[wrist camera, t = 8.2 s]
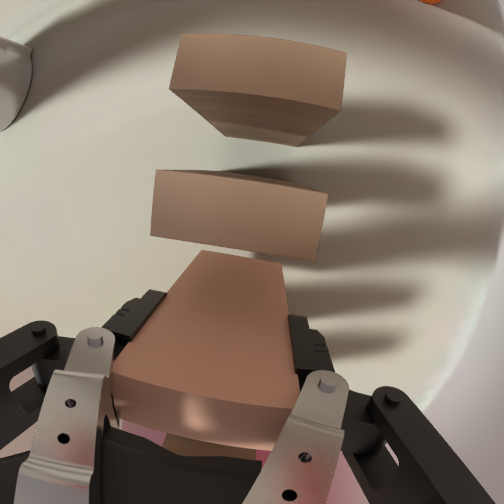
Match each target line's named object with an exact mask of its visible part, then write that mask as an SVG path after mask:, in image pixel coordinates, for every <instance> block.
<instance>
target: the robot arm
mask: <svg viewBox="0 0 504 504" xmlns="http://www.w3.org/2000/svg"><path fill="white" fill-rule="evenodd" d="M31 52H32V48H30V47H28V46H25V45H22V44H19V43H17V42H14V41H11V40H8V39H5V38H2V37H0V131H2V130H4V129H5V128H7V127H8V126H9V125H10V124H11V122H12V121H13V120H14V118H15V117H16V116H17V114H18V112H19V110H20V109H21V107H22V105H23V102H24V100H25V98H26V95H27V92H28V89H29V85H30V81H31V75H32V63H31V59H30V56H31ZM166 296H167V293H165V292H160V291H155V290H151V289H150V290H148V291H147V292H146V293H145V295H144V296H143V297H142V298H141V299H139V298H135V299H132V300H130V301H128V302H126V303H125V304H124V305H123V306H122V307H121V309H119V310H118V311H117V312H116V314H114V315H113V316H112V317H111V318H110V319H109V320H108V321H107V322H106V323H105V324H104V325H103V326H102V327H101V328H99V327H92V328H87V329H84V330H82V331H80V332H79V333H78V334H77V336H76V338H67V337H60V336H58V335H57V330H56V327H55V325H54V324H52V323H50V322H47V321H34V322H31V323H29V324H27V325H25V326H23V327H21V328H19V329H17V330H15V331H13V332H11V333H9V334H7V335H6V336H4V337H2V338H0V450H1V449H2V448H3V447H5V446H6V445H7V444H9V443H10V442H11V441H12V440H14V439H15V438H16V437H17V436H19V435H20V434H21V433H23V432H24V431H25V430H26V429H28V428H29V427H30V426H32V425H33V424H34V423H35V422H37V421H38V422H37V425H36V429H35V433H34V437H33V441H32V446H31V450H30V451H26V452H23V453H19V454H15V455H12V456H8V457H4V458H0V504H325V503H326V500H327V497H328V494H329V490H330V487H331V484H332V480H333V477H334V473H335V470H336V466H337V462H338V459H339V455H340V451H342V452H343V455H344V457H345V458H346V460H347V462H348V464H349V466H350V468H351V470H352V471H353V473H354V475H355V477H356V479H357V481H358V483H359V485H360V487H361V489H362V490H363V492H364V494H365V496H366V498H367V500H368V502H369V503H370V504H495V502H494V501H493V500H492V499H491V497H490V496H489V495H488V493H487V492H486V491H485V490H484V488H483V487H482V486H481V484H480V483H479V482H478V481H477V479H476V478H475V477H474V476H473V474H472V473H471V472H470V471H469V469H468V468H467V467H466V466H465V464H464V463H463V462H462V461H461V459H460V458H459V457H458V456H457V454H456V453H455V452H454V451H453V450H452V448H451V447H450V446H449V445H448V443H447V442H446V441H445V440H444V439H443V437H442V436H441V435H440V434H439V433H438V431H437V430H436V429H435V428H434V427H433V425H432V424H431V423H430V422H429V421H428V419H427V418H426V417H425V416H424V415H423V413H422V412H421V411H420V410H419V409H418V408H417V406H416V405H415V404H414V403H413V402H412V400H411V399H410V398H409V397H408V396H407V395H406V394H405V393H404V392H403V391H401V390H399V389H397V388H394V387H389V386H383V387H379V388H377V389H376V390H375V391H374V392H373V394H372V396H369V395H365V394H361V393H357V392H354V391H351V390H349V385H348V383H347V381H346V380H345V379H344V378H343V377H342V376H341V375H339V374H337V373H335V370H334V367H333V364H332V361H331V357H330V354H329V353H328V352H329V351H328V348H327V347H326V342H325V338H324V337H323V336H322V335H321V334H320V332H319V331H318V330H313V329H309V325H308V321H307V317H304V316H296V315H288V323H289V330H290V338H291V346H292V354H293V362H294V370H295V374H298V380H299V388H300V395H299V397H298V399H297V402H296V404H295V406H294V408H293V411H292V413H291V414H290V415H289V417H288V419H287V421H286V423H285V425H284V427H283V429H282V431H281V434H280V436H279V438H278V440H277V442H276V444H275V446H274V447H273V449H272V451H271V453H270V455H269V457H268V459H267V461H266V463H265V465H264V467H263V468H262V470H261V466H262V461H258V460H249V459H241V458H233V457H226V456H181V455H178V454H175V453H173V452H171V451H169V450H167V449H165V448H163V447H161V446H159V445H157V444H155V443H153V442H152V441H150V440H148V439H146V438H144V437H141V436H137V435H134V434H131V433H128V432H125V431H123V430H122V418H121V414H120V412H119V411H117V410H115V405H114V401H113V396H112V391H111V388H112V380H113V373H112V371H113V364H114V361H115V360H116V358H117V357H118V356H119V354H120V353H121V352H122V350H123V349H124V348H125V346H126V345H127V344H128V342H132V340H133V339H134V338H135V336H136V335H137V334H138V332H139V331H140V330H141V328H142V327H143V326H144V324H145V323H146V322H147V320H148V319H149V318H150V317H151V315H152V314H153V313H154V311H155V310H156V309H157V307H158V306H159V305H160V304H161V302H162V301H163V300H164V298H165V297H166ZM30 366H32V369H33V372H34V375H35V377H33V378H32V379H30V380H29V381H27V382H26V383H24V384H23V385H21V386H20V387H18V388H17V389H15V390H14V391H12V392H11V391H10V388H9V383H10V380H11V379H12V378H13V377H14V376H16V375H17V374H19V373H20V372H22V371H23V370H25V369H27V368H28V367H30ZM386 443H388V444H389V446H390V447H391V449H392V450H393V452H394V453H395V455H396V456H397V458H398V461H399V466H398V465H397V464H396V462H395V460H394V459H393V457H392V456H391V454H390V453H389V451H388V450H387V448H386V447H385V444H386Z"/></svg>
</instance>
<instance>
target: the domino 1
mask: <svg viewBox="0 0 504 504" xmlns="http://www.w3.org/2000/svg"><path fill="white" fill-rule="evenodd" d="M346 56H347V53H345V52H341V51H337V50H333V49H329V48H325V47H320V46H316V45H311V44H306V43H301V42H295V41H289V40H282V39H275V38H267V37H258V36H248V35H234V34H207V33H194V34H182V36H181V40H180V44H179V48H178V52H177V56H176V60H175V64H174V69H173V73H172V78H171V82H170V87H169V89H170V90H171V91H172V92H173V93H175V94H176V95H177V96H178V97H179V98H181V99H182V100H183V101H184V102H186V103H187V104H188V105H189V106H190V107H192V108H193V109H194V110H195V111H196V112H198V113H199V114H200V115H201V116H202V117H203V118H205V119H206V120H207V121H208V122H209V123H210V124H212V125H213V126H214V127H215V128H216V129H217V130H218V131H220V132H221V133H222V134H223V135H224V136H226V137H234V138H242V139H250V140H257V141H264V142H271V143H277V144H283V145H289V146H294V147H297V146H298V145H300V144H301V143H302V142H303V141H304V140H306V139H307V138H308V137H309V136H310V135H312V134H313V133H314V132H315V131H316V130H318V129H319V128H320V127H321V126H322V125H324V124H325V123H326V122H327V121H329V120H330V119H331V118H332V117H333V116H335V115H336V114H337V113H338V112H340V111H341V105H342V97H343V88H344V78H345V67H346Z"/></svg>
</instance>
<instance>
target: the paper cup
mask: <svg viewBox="0 0 504 504" xmlns="http://www.w3.org/2000/svg"><path fill="white" fill-rule="evenodd" d="M419 1H421V2H424V3H428V4H435V3H438V2H440V1H441V0H419Z"/></svg>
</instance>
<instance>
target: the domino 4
mask: <svg viewBox="0 0 504 504" xmlns="http://www.w3.org/2000/svg"><path fill="white" fill-rule="evenodd" d="M162 447H163V448H165V449H167V450H169V451H171V452H173V453H175V454H178V455H181V456H226V457H233V458H241V459H249V460H256V449H250V448H242V447H235V446H228V445H222V444H216V443H210V442H205V441H200V440H195V439H191V438H186V437H182V436H178V435H173V434H170V433H167V435H166V438H165V440H164V443H163V446H162Z"/></svg>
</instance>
